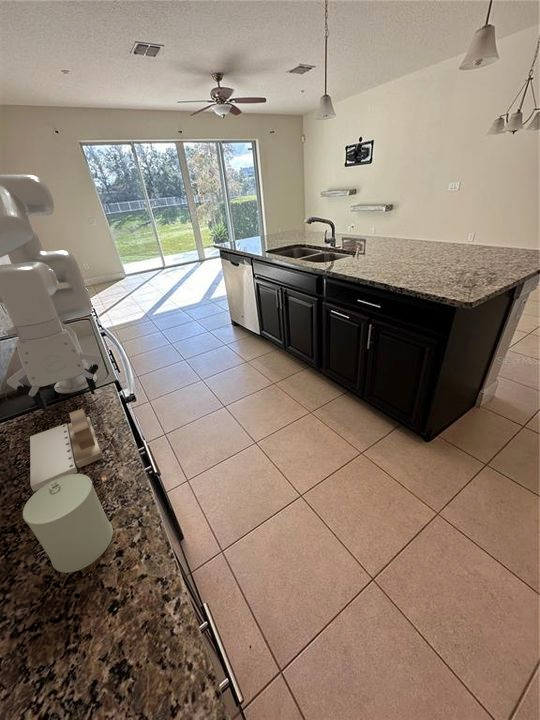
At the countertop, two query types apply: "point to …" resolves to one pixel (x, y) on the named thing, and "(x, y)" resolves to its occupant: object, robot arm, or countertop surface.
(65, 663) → the countertop surface
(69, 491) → the can
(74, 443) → the stub
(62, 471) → the board
